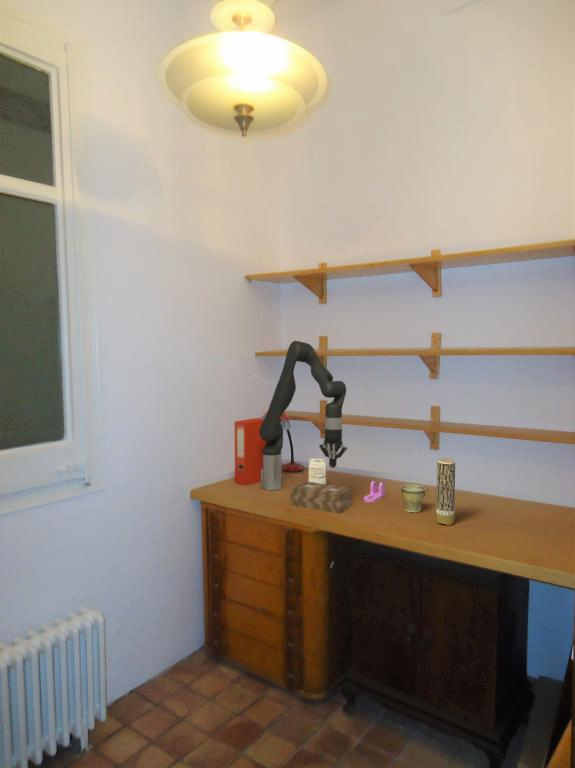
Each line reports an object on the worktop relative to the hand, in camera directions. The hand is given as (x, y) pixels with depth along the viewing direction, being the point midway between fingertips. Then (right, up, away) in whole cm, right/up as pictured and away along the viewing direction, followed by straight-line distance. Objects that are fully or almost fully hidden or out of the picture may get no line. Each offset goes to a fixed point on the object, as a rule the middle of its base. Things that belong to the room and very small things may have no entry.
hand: (332, 467), depth 226 cm
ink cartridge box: (-5, -16, +31) cm, 36 cm away
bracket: (+20, -17, +14) cm, 30 cm away
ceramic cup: (+35, -18, -3) cm, 39 cm away
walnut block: (-5, -18, +5) cm, 19 cm away
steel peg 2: (0, -18, +1) cm, 18 cm away
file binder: (-38, -15, +47) cm, 62 cm away
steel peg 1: (-10, -18, +8) cm, 22 cm away
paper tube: (+43, -19, -19) cm, 51 cm away
